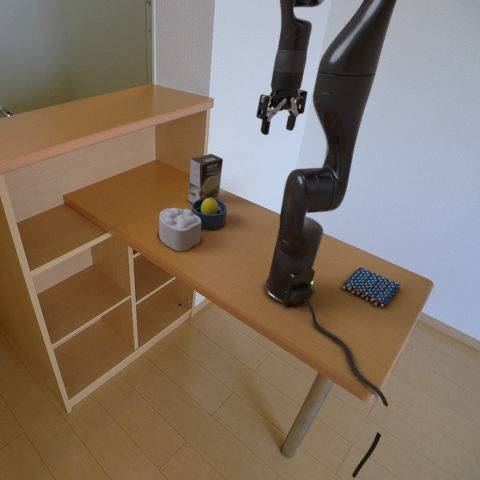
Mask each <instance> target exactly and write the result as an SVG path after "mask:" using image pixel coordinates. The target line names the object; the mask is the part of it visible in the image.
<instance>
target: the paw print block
mask: <svg viewBox="0 0 480 480" xmlns="http://www.w3.org/2000/svg"><path fill="white" fill-rule="evenodd" d="M158 217H159V218H158V226H159V227H158V231H159V233H158V235H159V236H158V237H159V240H160V242H162V243H163V244H164V245H166V246H167V247H169V248H170V249H172V250H175V251H178V252H185V251H188V250H189V249H191V248H192V247H194V246H197V245H199V244H200V242H201V231H202V228H201V219H200V218H199V217H198V216H196V215H195V214H193V213H192V209H189V208H178V207H171V208H165V209H163V210H161V211H160V213H159V216H158Z"/></svg>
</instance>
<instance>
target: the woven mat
mask: <svg viewBox="0 0 480 480" xmlns="http://www.w3.org/2000/svg"><path fill="white" fill-rule="evenodd" d="M342 285H343V286H342V290H348V291H350V293H351V294H352V295H354V294H355V293H356V295H357V296H359V295H360V294H361V295H360V297H361V298H362V299H363V298H364V297H365V300H366V301H369V302H372V303H373V302H374V303H373V306H376V307H377V306H378V305H379V304H380V307H381V308H383V307H387V305H389V303H390V301H391V300H392V299H393V297H394V296H395V294H396V293H397V292H398V291H399V290H400V289H401V288H400V287H401V286H402V285H401V284H400V283H397V282H396V281H395V280H389V278H388V277H384V276H383V275H381V274H378V273H377V272H373V271H371V270H370V269H367V268H365V267H363V266H361V267H358V268H357V269H356V270H354V272H353V273H352V274H351V275H350V276H349V277H348V279H346V281H345V282H343V284H342Z"/></svg>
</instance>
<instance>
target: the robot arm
mask: <svg viewBox="0 0 480 480" xmlns="http://www.w3.org/2000/svg"><path fill="white" fill-rule="evenodd" d="M397 1H398V0H363V1H362V2H361V4H360V5H359V7H358V9H357V10H356V11H355V13H354V14H353V15H352V17H351V18H350V19H349V21H348V22H347V23H346V24H345V25H344V27H343V28H342V29H341V30H340V32H338V34H337V35H336V36H335V38H334V39H333V40H332V41H331V43H330V44H329V45H328V47H327V48H326V50H325V51H324V53H323V54H322V56H321V58H320V60H319V64H318V68H317V72H316V79H315V83H314V88H313V93H312V94H313V95H312V104H313V105H312V106H313V108H314V113H315V114H316V115H315V116H316V117H317V120H318V122H319V124H320V127H321V130H322V132H323V135H324V139H325V145H326V146H325V155H324V160H323V163H322V166H321V167H306V168H305V167H304V168H295V169H293V170H291V171H290V173H288V175H287V177H286V180H285V184H284V188H283V195H282V201H281V208H280V213H279V227H278V232H277V237H276V242H275V246H274V249H273V255H272V259H271V264H270V268H269V272H268V277H267V279H266V284H265V292H266V294H267V296H269V298H270V299H272V300H273V301H275V302H277V303H280V304H282V306H284V307H289V306H294V305H297V304H300V303H303V302H304V303H305V304H306V306H307V308H308V310H309V312H310V314H311V320H312V323H313V325H314V327H316V329H317V330H318V331H320V333H322V334H323V335H325V336H326V337H329V338H330V339H332V340H334V341H335V342H337V343H338V344H339V345H340V346H341V347H342V348H343V350H344V352H345V354H346V357H347V361H348V364H349V367H350V370H352V372H353V374H354V375H355V376H356V377H357V378H358V380H359V381H361V382H363V384H365V385H366V386H368V387H369V388H371V390H373V391H374V392H375V393H376V394H377V395H378V397H379V398H380V400H381V401H382V404H383V406H384V407H386V408H387V407H389V404H388V401H387V398H386V396H385V395H384V394H383V392H382V391H381V390H380V389H379V388H378V387H377V386H376V385H374V384H373V383H371V382H370V381H369V380H368V379H366V378H365V377H364V376H362V375H361V373H360V372H359V371H358V370H357V368H356V366H355V363H354V361H353V357H352V354H351V352H350V349H349V348H348V346H347V345H346V344H345V343H344V342H343V340H341V339H340V338H338V336H335V335H334V334H331V333H330V332H328V331H326V330H325V329H323V328H322V327H321V326H320V325H319V323H318V321H317V317H316V313H315V310H314V308H313V306H312V305H311V303H310V301H309V299H312V297H313V295H314V293H315V292H314V291H315V289H314V288H312V285H313V283H314V281H313V280H314V277H315V274H316V270H315V269H314V266H315V262H316V258H317V255H318V252H319V248H320V246H321V243H322V239H323V237H324V228H323V226H322V224H320V222H319V221H317V220H315V219H314V218H312V217H309V216H308V215H307V214H313V213H314V214H315V213H326V212H331V211H332V212H333V211H335V210H337V209H338V208H339V207H340V206H341V205H342V204H343V202H344V199H345V196H346V193H347V189H348V185H349V180H350V174H351V169H352V164H353V157H354V152H355V147H356V143H357V139H358V135H359V132H360V128H361V124H362V121H363V117H364V113H365V110H366V107H367V103H368V101H369V98H370V94H371V91H372V88H373V86H374V85H373V84H374V81H375V77H376V73H377V70H378V66H379V63H380V59H381V55H382V50H383V46H384V43H385V40H386V36H387V33H388V29H389V26H390V23H391V19H392V16H393V14H394V10H395V7H396V4H397ZM324 2H325V0H279V7H280V31H279V39H278V45H277V50H276V53H275V57H274V64H273V69H272V74H271V81H270V88H271V92H270V94H263V93H261V94H260V95H259V99H258V105H257V111H256V115H255V116H256V117H255V118H257V119H259V120H261V124H260V125H261V126H260V132H261V134H262V135H264V136H267V135H269V133H270V129H271V128H270V127H271V120H272V119H273V117H274V116H276V115H277V114H278V113H279V112H282V111H287V112H288V115H287V119H286V125H285V129H286V130H287V131H290V132H291V131H293V130H294V129H295V127H296V123H297V117H298V116H299V115H303V114H304V113H305V109H306V105H307V104H306V103H307V98H308V91H307V90H304V89H301V88H302V83H303V80H304V74H305V69H306V64H307V58H308V48H309V44H310V39H311V35H312V30H313V24H312V22H311V21H309V20H307V19H303V18H299V17H297V15H296V14H295V11H294V10H295V9H294V8H316V7H319V6H321V5H322V4H323V3H324ZM306 215H307V216H306ZM381 437H382V434H381V433H380V432H378V431H377V432H376V434H375V437H374V439H373V441H372V443H371V445H370V447H369V448H368V450H367V451H366V453H365V454H364V456H363V457H362V459H361V460H360V461H359V463H357V466H356V467H355V469H354V470H353V472H352V474H351V476H352V478H353V479H354V478H356V477H357V476H358V474H359V473H360V472H361V470H362V468H363V466H364V465H365V463H367V461H368V460H369V458H370V457H371V456H372V454H373V453H374V451H375V449H376V447H377V445H378V444H379V442H380V439H381Z"/></svg>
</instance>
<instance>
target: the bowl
mask: <svg viewBox="0 0 480 480" xmlns="http://www.w3.org/2000/svg"><path fill="white" fill-rule="evenodd" d="M206 199H207V198H206ZM204 200H205V199H199V200H197V201H195V202H194V203H192V205H191V211H192V213H193V214H195V215H196V216H198V217H199V218H200V219H201V229H207V230H210V229H211V230H213V229H219V228H221V227H222V226H224V225H225V223H226V218H227V209H228V207H227V205H226V203H224V202H223V201H221V200H219V199H218V200H216V199H214V200H216V202H217V204H218V213H217V214H216V215H206V214H202V213H201V205H202V203H203V201H204Z"/></svg>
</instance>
